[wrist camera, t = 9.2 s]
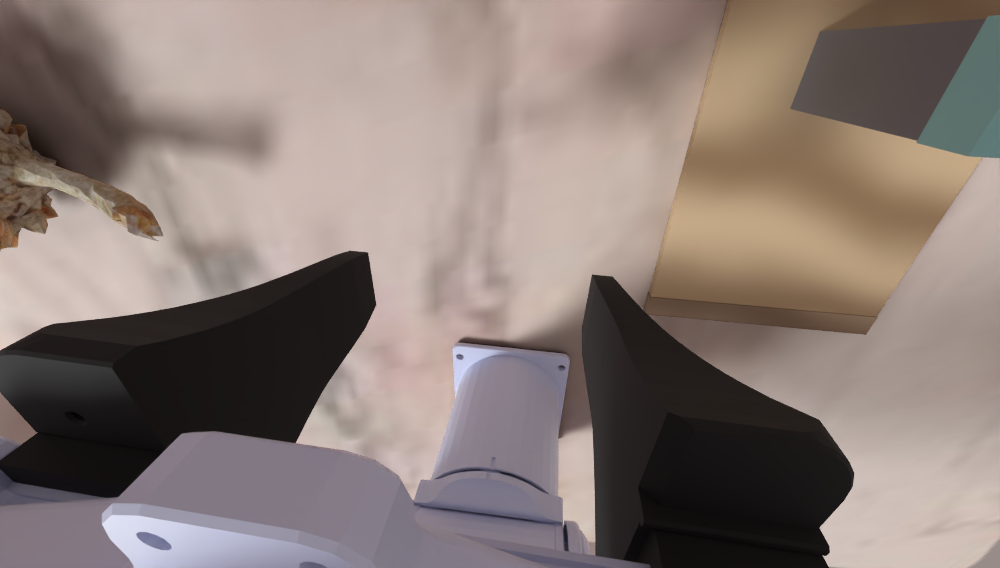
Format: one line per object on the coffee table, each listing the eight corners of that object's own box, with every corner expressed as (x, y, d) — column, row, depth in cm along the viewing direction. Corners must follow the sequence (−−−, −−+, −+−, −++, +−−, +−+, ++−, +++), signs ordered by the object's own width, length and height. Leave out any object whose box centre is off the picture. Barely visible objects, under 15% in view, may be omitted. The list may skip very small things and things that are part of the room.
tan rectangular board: (859, 328, 22) (866, 334, 22) (643, 308, 23) (645, 313, 23) (1090, -26, 14) (1108, -28, 13) (734, -28, 15) (739, -30, 14)
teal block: (860, 113, 16) (1105, 163, 9) (788, 109, 17) (968, 156, 9) (899, 31, 15) (1232, 12, 7) (818, 29, 15) (1062, 9, 8)
